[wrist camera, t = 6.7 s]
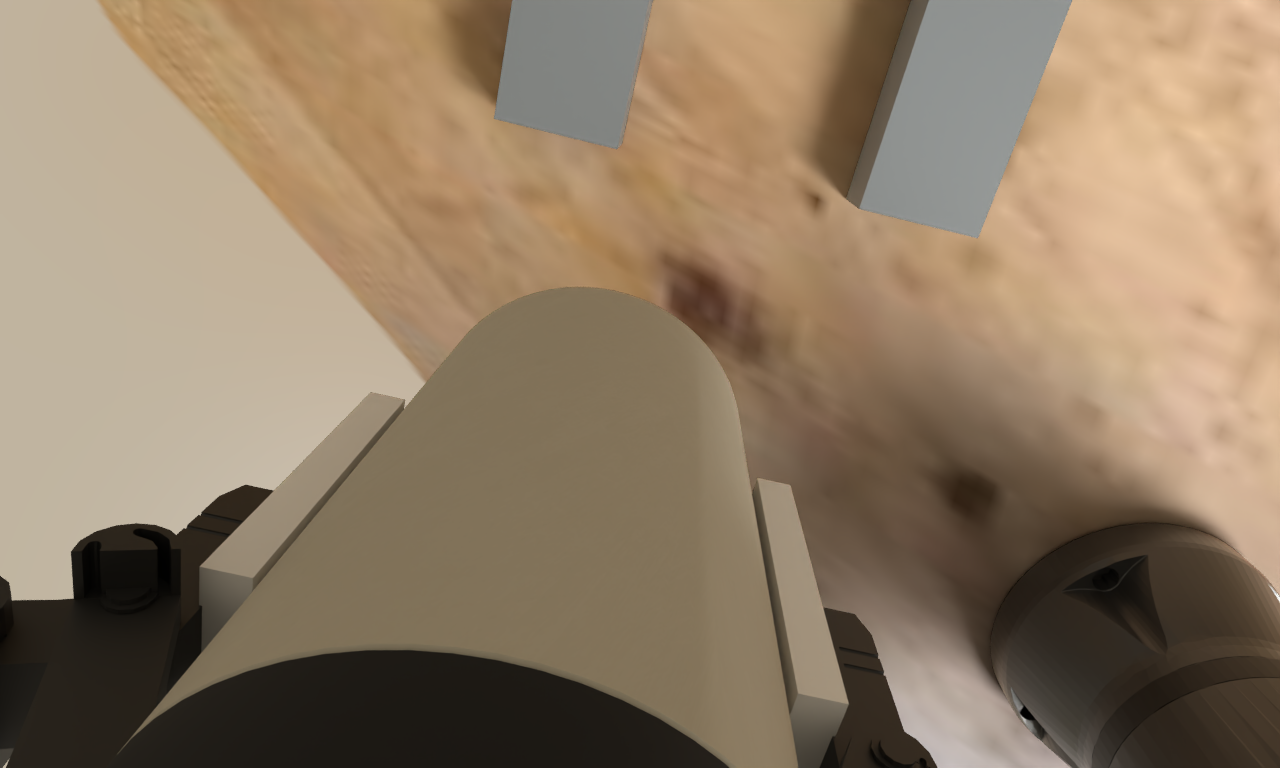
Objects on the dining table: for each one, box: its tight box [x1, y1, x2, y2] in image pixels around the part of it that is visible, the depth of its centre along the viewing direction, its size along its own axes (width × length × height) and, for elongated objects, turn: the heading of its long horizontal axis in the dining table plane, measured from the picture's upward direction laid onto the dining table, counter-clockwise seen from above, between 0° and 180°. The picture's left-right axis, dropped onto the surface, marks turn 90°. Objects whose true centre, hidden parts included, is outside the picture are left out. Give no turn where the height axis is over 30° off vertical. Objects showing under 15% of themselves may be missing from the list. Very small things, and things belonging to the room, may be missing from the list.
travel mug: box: [106, 287, 798, 768], centre depth 12 cm, size 8×8×18 cm
